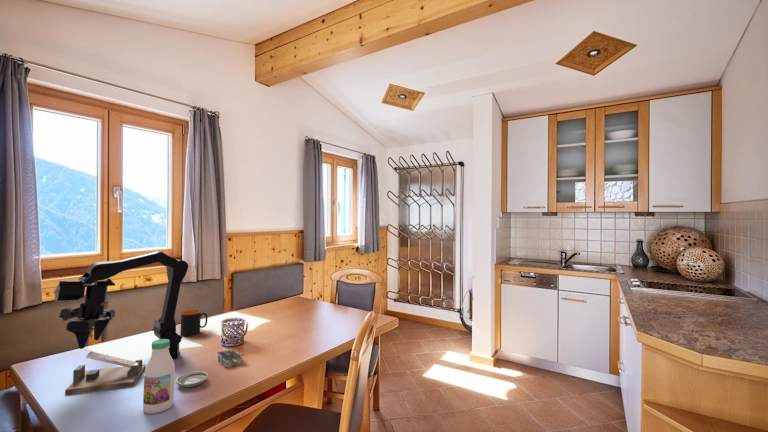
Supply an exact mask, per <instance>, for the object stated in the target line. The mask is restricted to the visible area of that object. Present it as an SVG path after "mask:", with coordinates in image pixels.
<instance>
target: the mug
mask: <svg viewBox="0 0 768 432" xmlns="http://www.w3.org/2000/svg"><path fill="white" fill-rule="evenodd" d="M203 315H204V317H205V322H204V324H203V325H201V318H202V316H203ZM207 325H208V314H207V313H206V312H201V310H197V309H193V310H186V311H182V312H181V314H180V330H179V331H180V333H179V335H180V336H181V337H182V338H183V337H184V338H189V337H190V338H191V337H194V336H198V335H199V334H201V329H203V328H205V327H206V326H207Z"/></svg>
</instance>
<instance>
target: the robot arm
mask: <svg viewBox="0 0 768 432" xmlns="http://www.w3.org/2000/svg"><path fill="white" fill-rule="evenodd" d="M155 263H158V264H160V265H162V266H164V267H166V277H167V286H166V290H165V291H166V292H165V296H164V301H163V305H162V306H163V307H162V310H161V316H160V317H159V319H158V320H157V319H155V320H154V322H153V323H154V324H153V328H152V330H151V331H152V332H153V335H154V336H155V337H156V338H158V340H160V339H169V340H170V347H169V353H170V355H171V357H172V359H173V360H174V359H175V360H176V359H178V357H179V355H180V353H181V351H180V343H181V341H182V339H183V336H181V335H180V334H179V333H177V323H176V319H175V316H176V311H177V305H178V299H179V295H180V289H181V284H182V281H183V280H184V279H185V277H186V275H187V272H188V270H189V263H188V262H187V261H185V260H183V259H179V258H174V257H172V256H170V255H168V254H166V253H164V252H163V251H158V250H157V251H153V252H150V253H145V254H141V255H137V256H133V257H129V258H125V259H120V260H112V261H111V260H110V261H109V260H108V261H107V260H106V261H97V262H93V263H91V264H89V266H88V267H87V269H86V272H85V273H83V274H82V275H81V276H80V277H78V279H77V280H74V279H73V280H65V279H64V280H62V279H61V280H58V284H57V286H56V289H55V290H54V291H55V292H54V300H55V302H56V303H57V302H68V301H69V302H70V301H71V302H72V301H79V300H80V299H82V298H83V297H84V301H83V302H81V303H80V304H79V306H77V307H73V308H71V307H65V308H62V309H61V310H60V312H59V315H58V318H60V319H62V320H63V322H65V321H68V320H69V322H67V323H66V326H65V327H66V328H65V331H68V332H69V333H72V334H74V335H75V336H74V337H76V342H77V345H78V348H79V350H80V349H81V350H82V349H85V347H86V345H87V343H88V341H89V339H90V337H91V335H93V339H94V341H98V340H100V338H101V336H102V335H103V333H104V332H105V330H106V329H107V328H108V326H109V324H110V323H111V322H112V321H113V319H114V318H115V317H116V311H115V310H114V309H111V308H106V305H107V304H108V303H109V300H107V295H108V294H107V293H108V287H109V286H110V287H112V286H116V283H115V282H113V280H112V279H111V277H115V276H116V275H118V274H119V273H122V272H125V271H128V270H133V269H137V268H140V267H144V266H147V265H152V264H155ZM73 318H74V319H73ZM70 319H73V320H70ZM92 333H93V334H92Z"/></svg>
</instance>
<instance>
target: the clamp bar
mask: <svg viewBox="0 0 768 432" xmlns="http://www.w3.org/2000/svg"><path fill="white" fill-rule="evenodd" d="M85 358H86V359H90V360H94V361H98V362H103V363H108V364H111V365H116V366H119V367H129V368H131V366H132V365H140V362H135V361H133V360H129V359H125V358H121V357H116V356H112V355H109V354H104V353H100V352H94V351H90V352H89V353H87V355H86V356H85Z"/></svg>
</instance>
